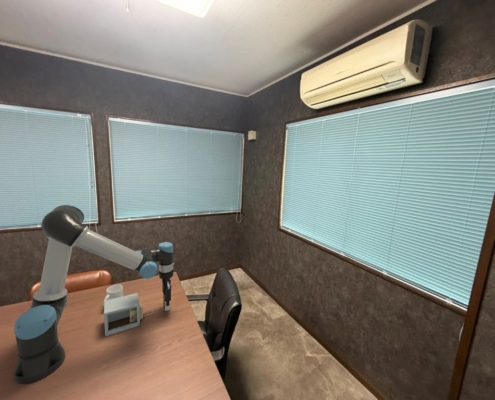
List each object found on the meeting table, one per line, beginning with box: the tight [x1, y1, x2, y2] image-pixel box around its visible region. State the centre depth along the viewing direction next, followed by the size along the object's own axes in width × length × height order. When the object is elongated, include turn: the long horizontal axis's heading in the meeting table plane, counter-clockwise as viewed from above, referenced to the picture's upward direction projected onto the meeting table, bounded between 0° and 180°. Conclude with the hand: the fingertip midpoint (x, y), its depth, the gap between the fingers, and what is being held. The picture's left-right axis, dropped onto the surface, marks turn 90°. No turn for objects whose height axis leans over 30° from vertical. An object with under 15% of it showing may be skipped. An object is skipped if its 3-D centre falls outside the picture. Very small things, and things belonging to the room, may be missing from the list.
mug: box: [103, 284, 124, 307], centre depth 125 cm, size 12×8×10 cm
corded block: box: [128, 294, 165, 324], centre depth 119 cm, size 20×6×8 cm, turn 122°
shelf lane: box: [103, 292, 141, 337], centre depth 112 cm, size 15×11×12 cm
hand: (166, 307), depth 124 cm, fingers closed on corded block, 3 cm apart
